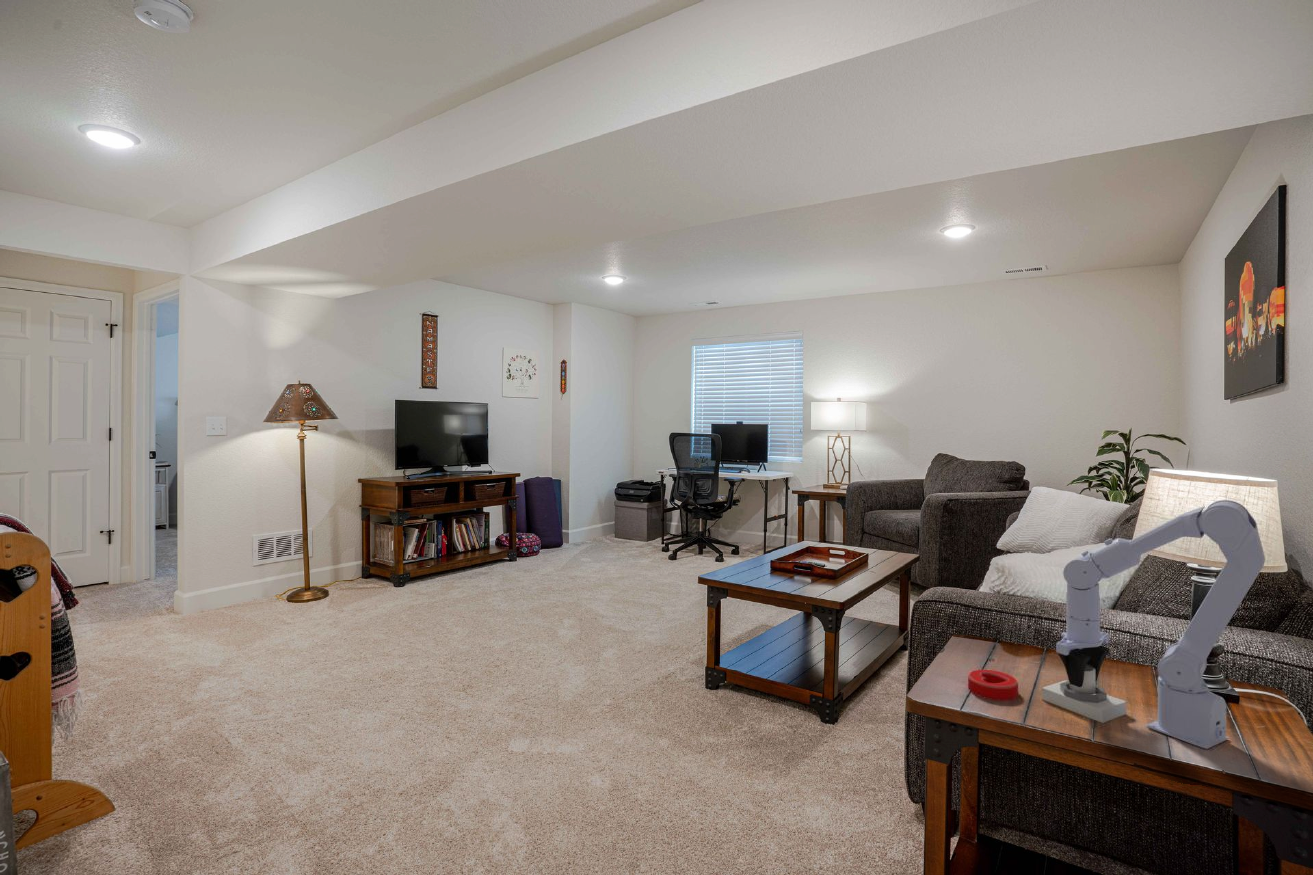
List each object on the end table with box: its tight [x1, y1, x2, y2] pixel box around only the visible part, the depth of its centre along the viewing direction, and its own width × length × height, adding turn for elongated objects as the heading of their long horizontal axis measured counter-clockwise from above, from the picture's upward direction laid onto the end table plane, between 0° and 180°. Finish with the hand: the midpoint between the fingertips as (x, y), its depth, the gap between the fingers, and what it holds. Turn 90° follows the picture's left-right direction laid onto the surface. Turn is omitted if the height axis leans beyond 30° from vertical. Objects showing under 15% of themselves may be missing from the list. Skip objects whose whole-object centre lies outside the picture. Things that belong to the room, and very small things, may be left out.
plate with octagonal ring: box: [1041, 679, 1127, 724], centre depth 132 cm, size 12×8×4 cm, turn 26°
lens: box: [1070, 664, 1096, 694], centre depth 132 cm, size 4×4×5 cm
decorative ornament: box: [967, 669, 1019, 701], centre depth 140 cm, size 10×10×3 cm
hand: (1083, 682), depth 132 cm, fingers closed on lens, 4 cm apart
